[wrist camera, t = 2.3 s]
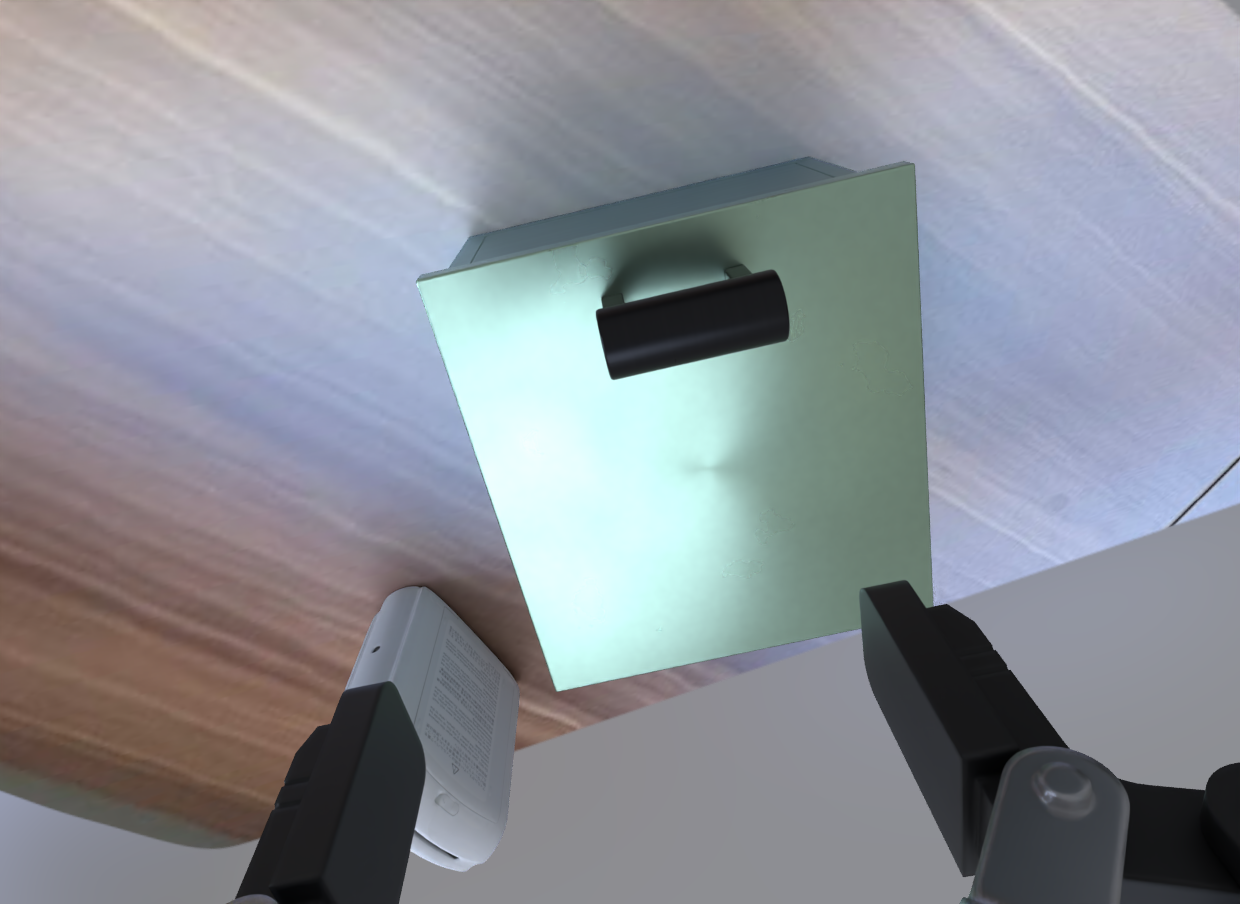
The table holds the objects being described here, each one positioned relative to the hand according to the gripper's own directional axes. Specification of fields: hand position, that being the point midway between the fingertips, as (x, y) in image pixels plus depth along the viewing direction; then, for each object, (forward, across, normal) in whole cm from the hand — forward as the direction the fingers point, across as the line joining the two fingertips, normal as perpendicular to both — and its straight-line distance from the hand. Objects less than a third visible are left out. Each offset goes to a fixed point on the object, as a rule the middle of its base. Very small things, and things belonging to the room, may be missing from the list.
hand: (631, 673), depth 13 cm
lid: (+15, -3, +4) cm, 16 cm away
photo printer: (+26, +13, +19) cm, 35 cm away
